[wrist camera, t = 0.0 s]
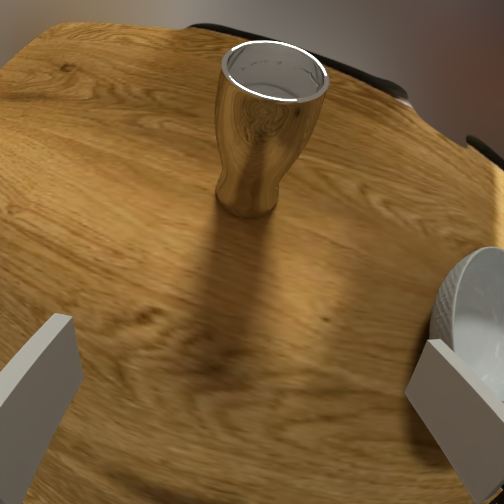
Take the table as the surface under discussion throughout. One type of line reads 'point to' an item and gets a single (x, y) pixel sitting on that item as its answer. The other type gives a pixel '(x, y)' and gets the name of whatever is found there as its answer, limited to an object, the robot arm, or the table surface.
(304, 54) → the beer glass
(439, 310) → the cereal bowl
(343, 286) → the table surface
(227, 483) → the table surface
